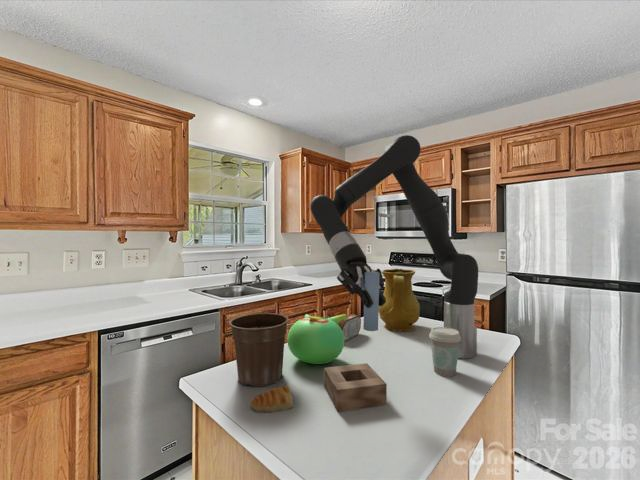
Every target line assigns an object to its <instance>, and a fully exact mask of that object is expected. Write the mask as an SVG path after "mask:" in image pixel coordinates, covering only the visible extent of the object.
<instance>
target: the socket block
mask: <svg viewBox="0 0 640 480" xmlns="http://www.w3.org/2000/svg"><path fill="white" fill-rule="evenodd" d="M387 384H388V383H386V382H385V380H384V379H383V378H382V377H381V376H380V375H379V374H378V373H377V372H376V371H375V370H374V369H373V367H371V366H370V365H369V364H368V363H366V362H365V363H357V364H347V365H338V366H337V365H336V366H329V367H324V368H323V387H324V389H325V392H326V394H327V395H328V397H329V399H330V401H331V403H332V405H333V406H334V408H335V410H336V412H337V413H339V412H346V411H352V410H353V411H354V410H361V409H367V408H374V407H380V406H387V400H388V399H387V398H388V397H387V388H388V387H387Z"/></svg>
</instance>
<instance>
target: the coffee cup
mask: <svg viewBox="0 0 640 480" xmlns="http://www.w3.org/2000/svg"><path fill="white" fill-rule="evenodd" d="M428 336H429V338H430V346H431V348H430V349H431V356H432V365H433V372H434V373H436V374H437V375H439V376H443V377H453V376H454V377H455V375H456V373H457V366H458V359H459V358H458V351H459V343H460V341H461V336H460V334H459V332H458V331H457V330H455V329H452V328H446V327H444V326H437V327H432V328H431V330H430V332H429V335H428Z"/></svg>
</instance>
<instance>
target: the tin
mask: <svg viewBox="0 0 640 480" xmlns="http://www.w3.org/2000/svg"><path fill="white" fill-rule="evenodd" d="M337 325H338V326H339V327H340V328H341V330H342V332H343V334H344V342H347V341H349V340H351V339H354V338H355V337H357V336H358V335H359V333H360V331H361V325H362V319H361V316H359V315H357V314H354V313H352V314H349V315H347V317H346V318H344V319H343V320H342V321H340V322H339V323H338V324H337Z"/></svg>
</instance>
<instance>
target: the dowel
mask: <svg viewBox="0 0 640 480" xmlns="http://www.w3.org/2000/svg"><path fill="white" fill-rule="evenodd" d="M379 277H380V273H378V272H365V285H364V286H365V291H367V292H368V293H369V295H370V297H371V299H372V301H373V305H372V306H371V307H370V308H367V307H366V306H365V305H364V304H363V325H362V326H363V327H362V329H363V330H364V331H369V332H376V331H379Z"/></svg>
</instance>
